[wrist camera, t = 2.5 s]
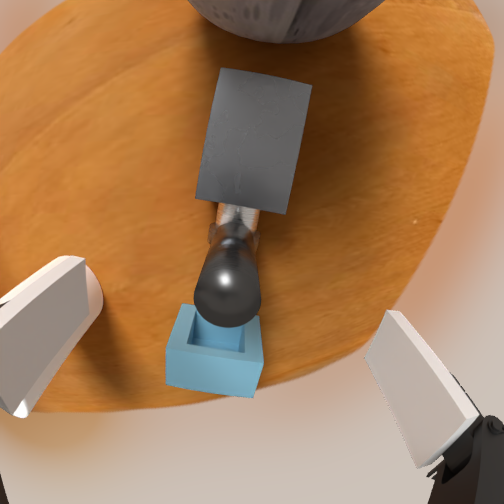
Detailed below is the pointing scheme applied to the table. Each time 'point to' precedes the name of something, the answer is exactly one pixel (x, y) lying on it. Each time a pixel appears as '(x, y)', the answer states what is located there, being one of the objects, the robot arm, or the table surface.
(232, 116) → the block
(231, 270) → the handle
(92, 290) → the cup
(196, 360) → the socket
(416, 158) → the table surface
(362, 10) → the vase
